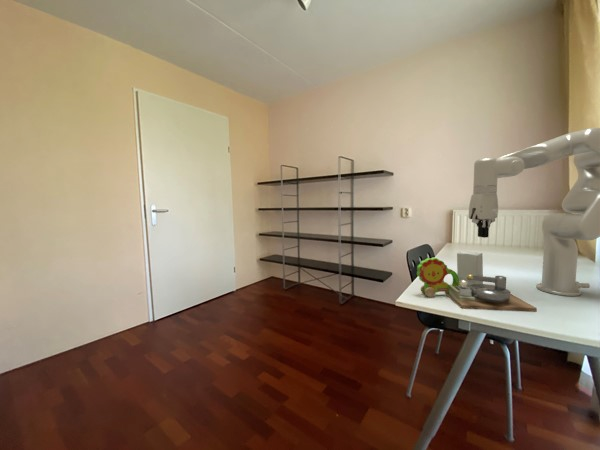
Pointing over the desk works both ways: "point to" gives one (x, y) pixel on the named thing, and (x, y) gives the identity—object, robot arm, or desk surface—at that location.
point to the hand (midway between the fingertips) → (482, 236)
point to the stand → (488, 302)
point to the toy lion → (435, 276)
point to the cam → (490, 288)
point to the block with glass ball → (464, 288)
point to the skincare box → (469, 266)
